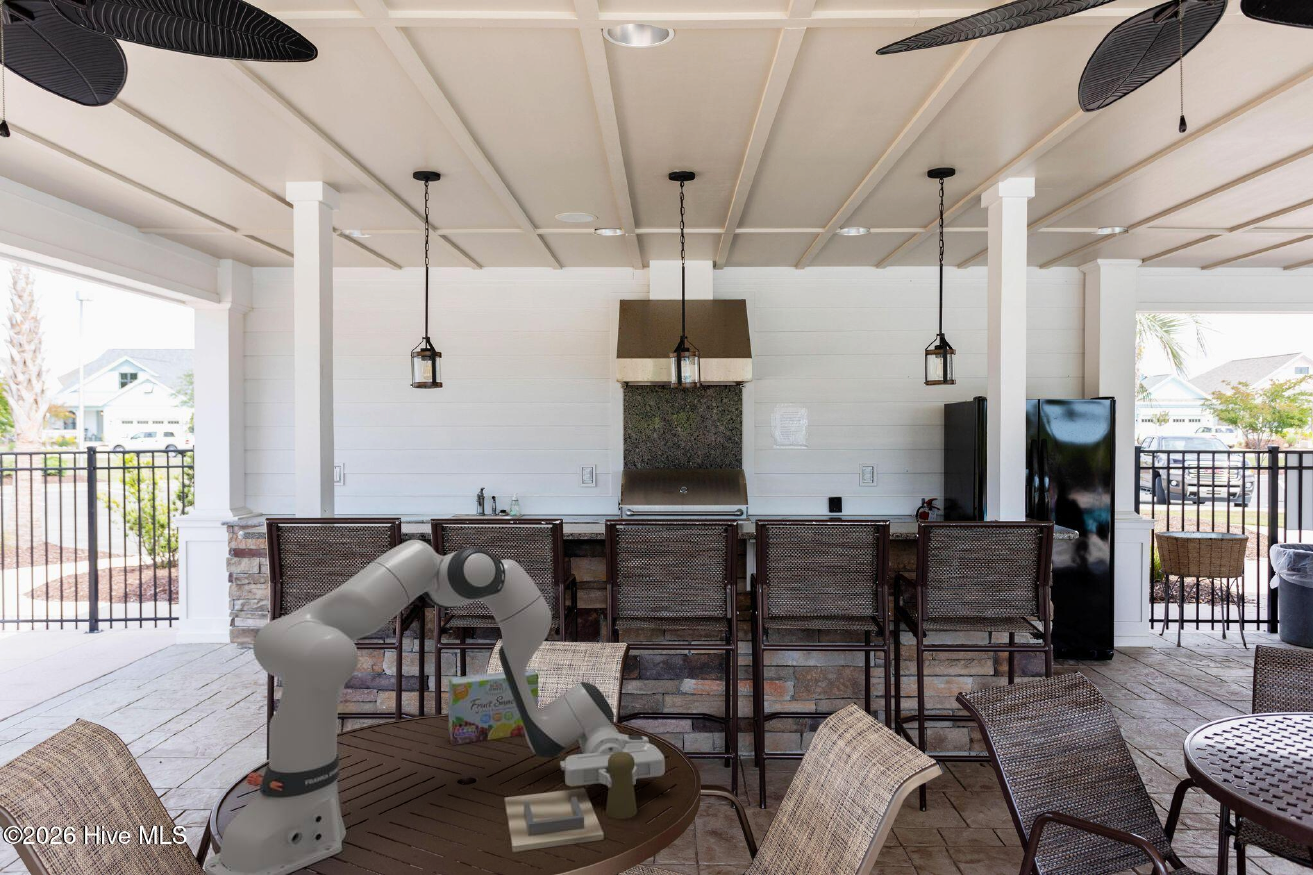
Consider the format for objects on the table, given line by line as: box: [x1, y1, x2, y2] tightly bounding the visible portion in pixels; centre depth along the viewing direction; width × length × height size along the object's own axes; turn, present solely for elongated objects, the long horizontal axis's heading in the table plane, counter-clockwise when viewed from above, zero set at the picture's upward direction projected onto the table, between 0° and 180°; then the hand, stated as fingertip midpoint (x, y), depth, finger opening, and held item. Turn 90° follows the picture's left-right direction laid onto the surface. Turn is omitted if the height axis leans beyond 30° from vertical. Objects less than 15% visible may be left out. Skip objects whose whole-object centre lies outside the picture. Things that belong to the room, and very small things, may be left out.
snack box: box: [448, 668, 539, 746], centre depth 190 cm, size 21×6×15 cm, turn 115°
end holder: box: [524, 797, 584, 836], centre depth 142 cm, size 9×10×2 cm
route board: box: [504, 787, 604, 853], centre depth 145 cm, size 20×16×1 cm
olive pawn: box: [605, 752, 638, 820], centre depth 148 cm, size 6×6×11 cm
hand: (622, 782), depth 147 cm, fingers closed on olive pawn, 2 cm apart
